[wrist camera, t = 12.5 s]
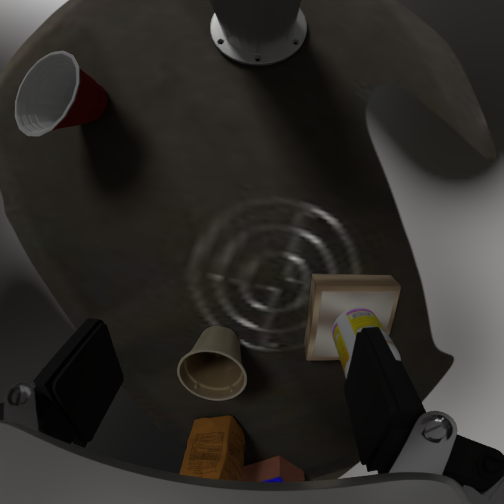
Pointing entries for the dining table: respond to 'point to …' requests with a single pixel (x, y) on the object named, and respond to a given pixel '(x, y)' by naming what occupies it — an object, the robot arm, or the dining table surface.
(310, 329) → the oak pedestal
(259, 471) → the house
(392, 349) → the supplement bottle
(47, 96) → the plastic cup
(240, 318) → the dining table surface
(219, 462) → the coffee package
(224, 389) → the flower pot
